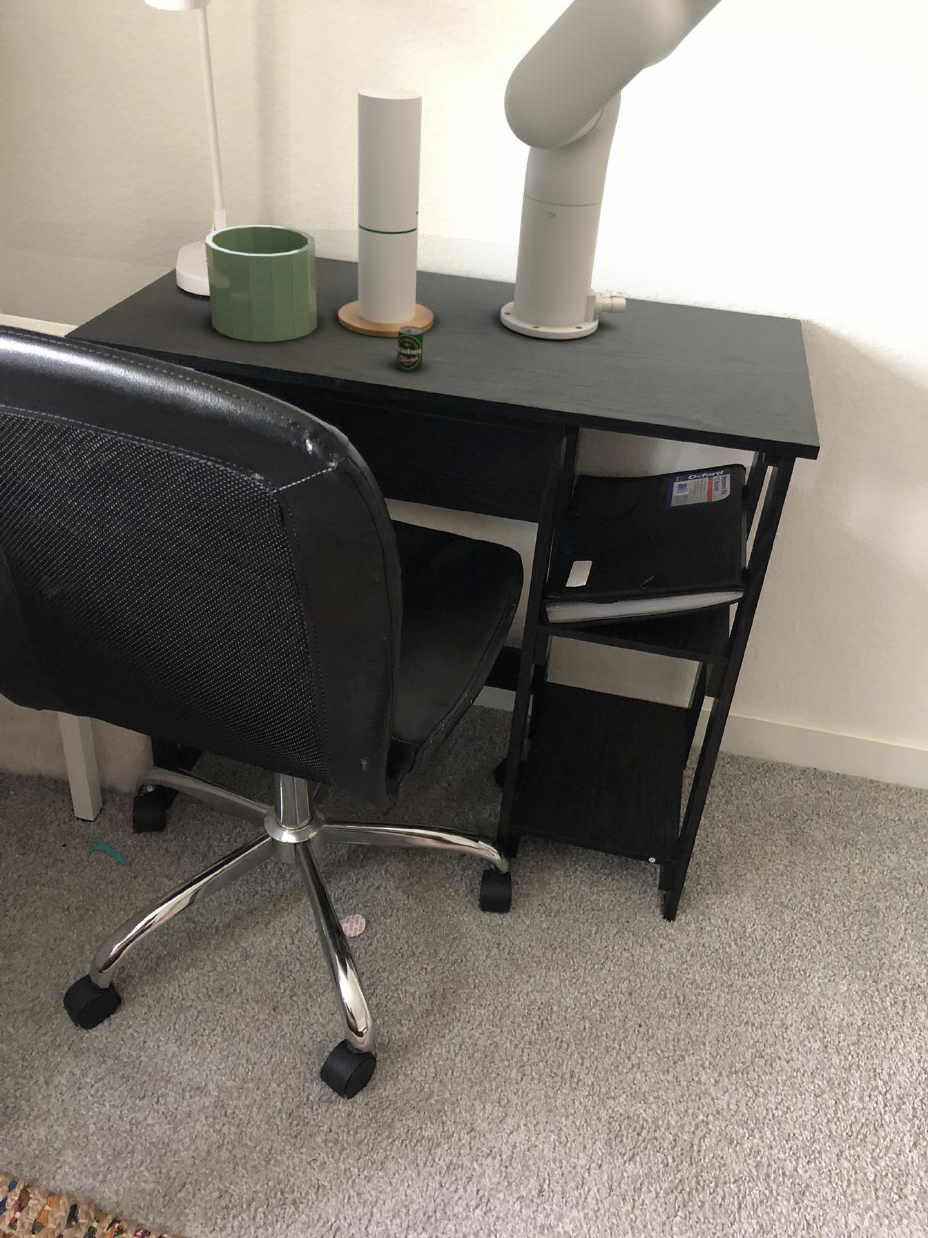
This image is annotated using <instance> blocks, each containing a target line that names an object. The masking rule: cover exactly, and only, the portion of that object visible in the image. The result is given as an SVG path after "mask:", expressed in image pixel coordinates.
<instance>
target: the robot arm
mask: <svg viewBox="0 0 928 1238" xmlns="http://www.w3.org/2000/svg"><path fill="white" fill-rule="evenodd" d="M722 1H723V0H573V1H572V2H571V3H570V4H569V6H568V7H567V8H566V9H565V10H564V11H563V12H562V13H561V14H560V15H559V17H558V18H557V19H556V20H555V21H554V22H553V23H552V24H551V25H550V27H549V28H548V29H547V30H546V31H545V33H543V34H542V36H541V37H540V38H539V39H538V40H537V41H536V42H535V44H534V45H533V46H532V47H531V48H530V49H529V50H528V52H526V53H525V55H524V56H523V57H522V58H521V60H520V61H519V62H518V63H517V65H516V66H515V67H514V69H513V70H512V73H511V74H510V77H509V78H508V81H507V83H506V86H505V92H504V99H503V102H504V103H503V107H504V115H505V119H506V122H507V124H508V127H509V129H510V130H511V132H512V133H513V135H514V136H515V137H516V138H517V139H518V140H519V141H520V142H521V143H523V144H525V145H526V146H529V150H528V157H527V161H526V168H525V175H524V184H523V185H524V186H523V193H522V206H521V215H520V228H519V239H518V250H517V262H516V273H515V283H514V295H513V301H510V302H507V303H506V304H505V305H504V306H502V308H501V309H500V316H499V318H500V321H501V323H502V324H503V325H504V326H505V327H506V328H508V329H509V330H511V331H514V332H516V333H518V334H522V335H525V336H528V337H533V338H537V339H546V340H572V339H573V340H574V339H580V338H584V337H587V336H590V335H591V334H593V333H595V331H596V330H597V329H598V327H599V317H598V316H600V315H601V314H602V313H609V314H624V313H625V311H626V306H627V302H626V298H625V297H618V296H617V297H615V296H614V297H613V296H612V294H611V293H610V292H600V293H595V291H594V290H593V288H592V280H593V279H592V278H593V274H594V273H593V272H594V265H595V257H596V250H597V241H598V236H599V234H598V233H599V226H600V220H601V213H602V204H603V199H604V192H605V186H606V185H605V184H606V178H607V171H608V166H609V160H610V155H611V154H610V153H611V150H612V144H613V141H614V137H615V132H616V127H617V124H618V121H619V114H620V110H621V102H622V91H623V90H624V89H625V88H626V87H627V86H628V85H629V84H630V83H631V82H632V81H633V80H634V79H635V78H636V77H637V76H638V75H639V74H640V73H641V72H642V71H644V70H645V69H647V68H650V67H652V66H655V65H657V64H659V63H661V62H663V61H664V60H665V59H667V58H668V57H669V56H670V55H671V54H672V53H673V52H675V50H676V49H677V48H678V47H679V46H680V44H681V43H682V42H683V41H684V40H685V38H687V36H688V35H690V34H691V32H693V30H694V29H695V28H696V27H697V26H698V25H699V24H700V23H701V22H702V21H703V20H704V19H705V18H706V17H707V16H708V15H709V14H710V13H711V12H712V11H713V10H714V9H715V8H716V6H718V5H719V4H720V3H721V2H722Z"/></svg>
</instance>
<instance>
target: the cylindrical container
mask: <svg viewBox="0 0 928 1238" xmlns="http://www.w3.org/2000/svg"><path fill="white" fill-rule="evenodd" d="M422 107H423V95H422V93H420V92H418V91H415V90H410V89H403V88H394V87H393V88H392V87H369V88H362V89H359V90H358V91H357V222H358V223H357V231H358V232H357V241H358V242H357V248H358V249H357V255H358V256H357V257H358V258H357V260H358V261H357V262H358V263H357V264H358V266H357V267H358V269H357V270H358V272H357V275H358V277H357V278H358V280H357V281H358V282H357V284H358V286H357V289H358V294H357V296H358V297H357V298H358V300H357V301H358V313H359V316H360V317H362V318H363V319H365V320H367V321H371V322H375V323H382V324H397V323H404V322H407V321H410V320H412V319H413V318H414V317H415V303H417V301H416V297H417V296H416V295H417V272H418V271H417V270H418V269H417V268H418V235H419V234H418V233H419V205H420V204H419V203H420V171H421V140H422V139H421V138H422V111H423V109H422Z"/></svg>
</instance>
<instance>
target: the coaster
mask: <svg viewBox="0 0 928 1238" xmlns="http://www.w3.org/2000/svg"><path fill="white" fill-rule="evenodd" d="M337 315H338V316H337V317H338V322H339V324H340V325H341V326H342V327H344V328H345V329H347V330H349V331H351V332H354V333H357V334H361V335H364V336H370V337H376V338H377V337H379V338H398V333H399V329H400V328H401V327H404V326H415V327H419V328H421V329H422V331H423V332H422V333H425V332H427V331H428V330H430V329H431V328H432V326H433V325H434V320H435V315H434V314H433V312H432V311H431V310H430V309H429V308H427V307H426V306H424V305H422V304H419V303H417V302H415V317H414V318H413V319H412V320H410V321H407V322H404V323H397V324H382V323H375V322H371V321H367V320H365V319H363V318H362V317H360V316H359V313H358V300H354V301H351V302H349V303H346V304H343V306H342V307H340V309H339V310H338V314H337Z"/></svg>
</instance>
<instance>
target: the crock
mask: <svg viewBox="0 0 928 1238" xmlns="http://www.w3.org/2000/svg"><path fill="white" fill-rule="evenodd" d="M204 245H205V257H206V268H207V278H208V279H207V280H208V290H209V301H210V302H209V303H210V312H211V323H212V324H211V325H212V327H213V329H215V331H217V332H218V333H219V334H221V335H223V336H226V337H229V338H231V339H234V340H235V339H236V340H240V341H248V342H254V343H255V342H256V343H260V342H261V343H276V342H283V341H291V340H296V339H298V338H299V339H300V338H302V337H304V336H308V335H310V334H311V333H312V332H314V330H316V329H317V328H318V308H317V307H318V306H317V303H318V302H317V301H318V300H317V269H316V267H317V266H316V238H315V237H313V236H312V235H311V234H309V233H308V232H306V231H303V230H299V229H297V228H292V227H289V226H280V225H270V224H247V225H246V224H245V225H236V226H235V225H234V226H228V227H223V228H220V229H216V230H214V231H212V232H211V233H209V234H207V235H206V236H205V241H204Z"/></svg>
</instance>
